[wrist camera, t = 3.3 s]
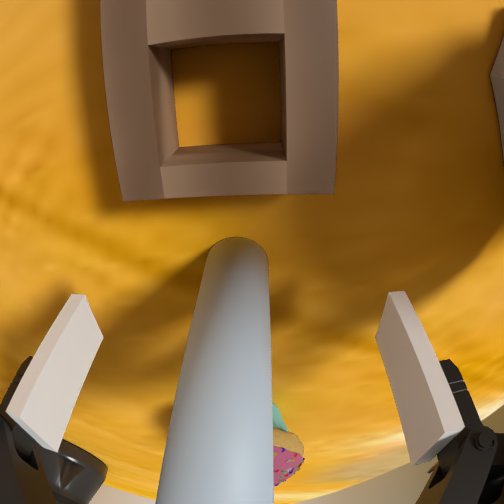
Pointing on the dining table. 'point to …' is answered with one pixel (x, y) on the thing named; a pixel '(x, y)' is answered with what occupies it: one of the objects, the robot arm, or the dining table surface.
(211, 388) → the dowel
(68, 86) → the dining table surface
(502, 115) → the tankard
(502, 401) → the dining table surface
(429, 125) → the dining table surface
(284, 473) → the cupcake
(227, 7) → the hole block
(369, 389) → the dining table surface
